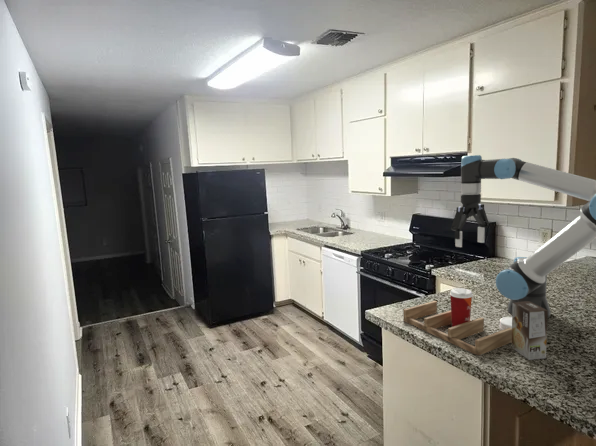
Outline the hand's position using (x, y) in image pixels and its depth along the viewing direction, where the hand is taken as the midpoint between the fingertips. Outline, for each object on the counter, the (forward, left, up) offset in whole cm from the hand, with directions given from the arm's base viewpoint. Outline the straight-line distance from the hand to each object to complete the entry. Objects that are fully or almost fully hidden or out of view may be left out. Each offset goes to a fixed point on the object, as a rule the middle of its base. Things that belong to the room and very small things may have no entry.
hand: (470, 244), depth 161 cm
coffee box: (-21, +32, -29) cm, 48 cm away
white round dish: (-17, +14, -29) cm, 37 cm away
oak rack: (+3, +24, -29) cm, 37 cm away
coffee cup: (+1, +20, -29) cm, 35 cm away
